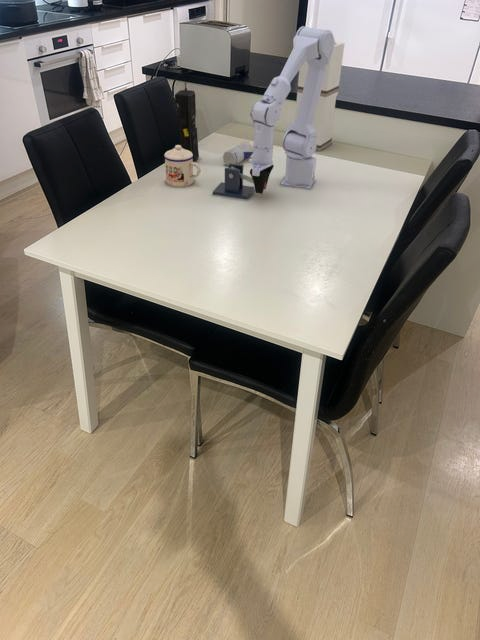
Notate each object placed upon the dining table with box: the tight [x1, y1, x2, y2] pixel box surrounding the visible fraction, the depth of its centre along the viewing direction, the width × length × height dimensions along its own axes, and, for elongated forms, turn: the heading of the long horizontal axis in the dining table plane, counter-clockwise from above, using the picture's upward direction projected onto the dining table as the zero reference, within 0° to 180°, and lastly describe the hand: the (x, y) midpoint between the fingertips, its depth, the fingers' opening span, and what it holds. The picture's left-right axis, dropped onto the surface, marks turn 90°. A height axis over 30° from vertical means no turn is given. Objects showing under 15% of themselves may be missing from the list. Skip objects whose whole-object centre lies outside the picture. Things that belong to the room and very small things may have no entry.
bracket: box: [212, 163, 255, 200], centre depth 156 cm, size 11×8×8 cm
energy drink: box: [222, 142, 253, 167], centre depth 178 cm, size 5×5×12 cm
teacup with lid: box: [163, 144, 201, 187], centre depth 160 cm, size 12×9×12 cm
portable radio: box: [174, 82, 200, 163], centre depth 172 cm, size 8×6×25 cm
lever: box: [231, 166, 267, 188], centre depth 154 cm, size 12×3×3 cm, turn 74°
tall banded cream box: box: [294, 41, 345, 152], centre depth 186 cm, size 11×11×35 cm
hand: (260, 190), depth 155 cm, fingers closed on lever, 3 cm apart
